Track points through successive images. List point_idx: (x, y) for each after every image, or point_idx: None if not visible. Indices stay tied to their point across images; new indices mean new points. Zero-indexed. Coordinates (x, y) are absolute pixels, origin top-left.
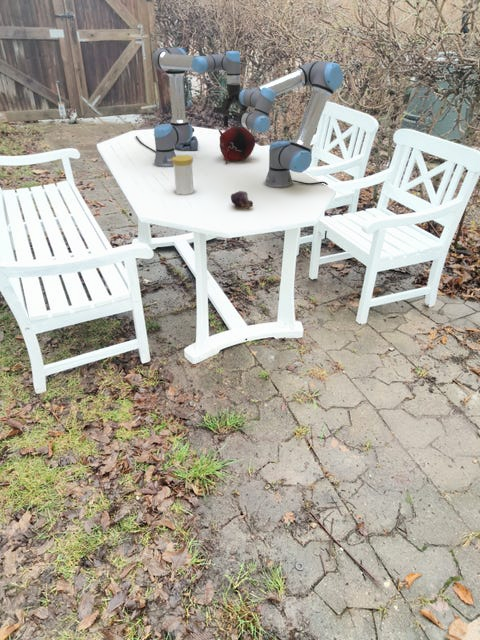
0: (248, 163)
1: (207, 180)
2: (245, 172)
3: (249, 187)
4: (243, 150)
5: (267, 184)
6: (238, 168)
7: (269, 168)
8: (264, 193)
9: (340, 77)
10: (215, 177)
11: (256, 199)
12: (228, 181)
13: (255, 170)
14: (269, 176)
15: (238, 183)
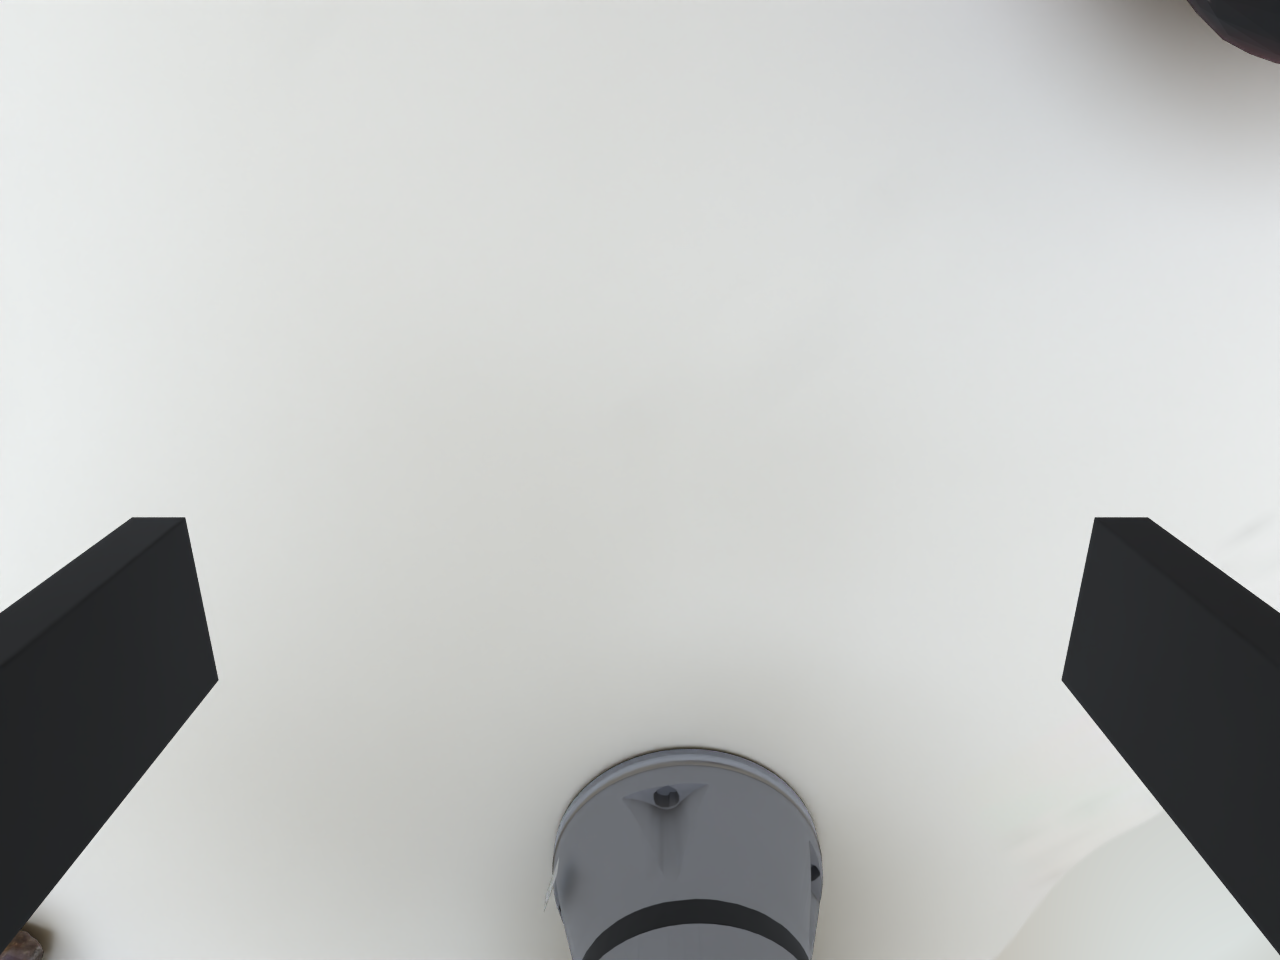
0: (1183, 80)
1: (175, 222)
2: (777, 362)
3: (394, 736)
4: (1235, 24)
5: (558, 831)
6: (871, 152)
7: (595, 945)
8: (380, 914)
9: None
10: (339, 208)
11: (221, 950)
12: (360, 452)
13: (929, 401)
14: (568, 902)
15: (398, 581)
